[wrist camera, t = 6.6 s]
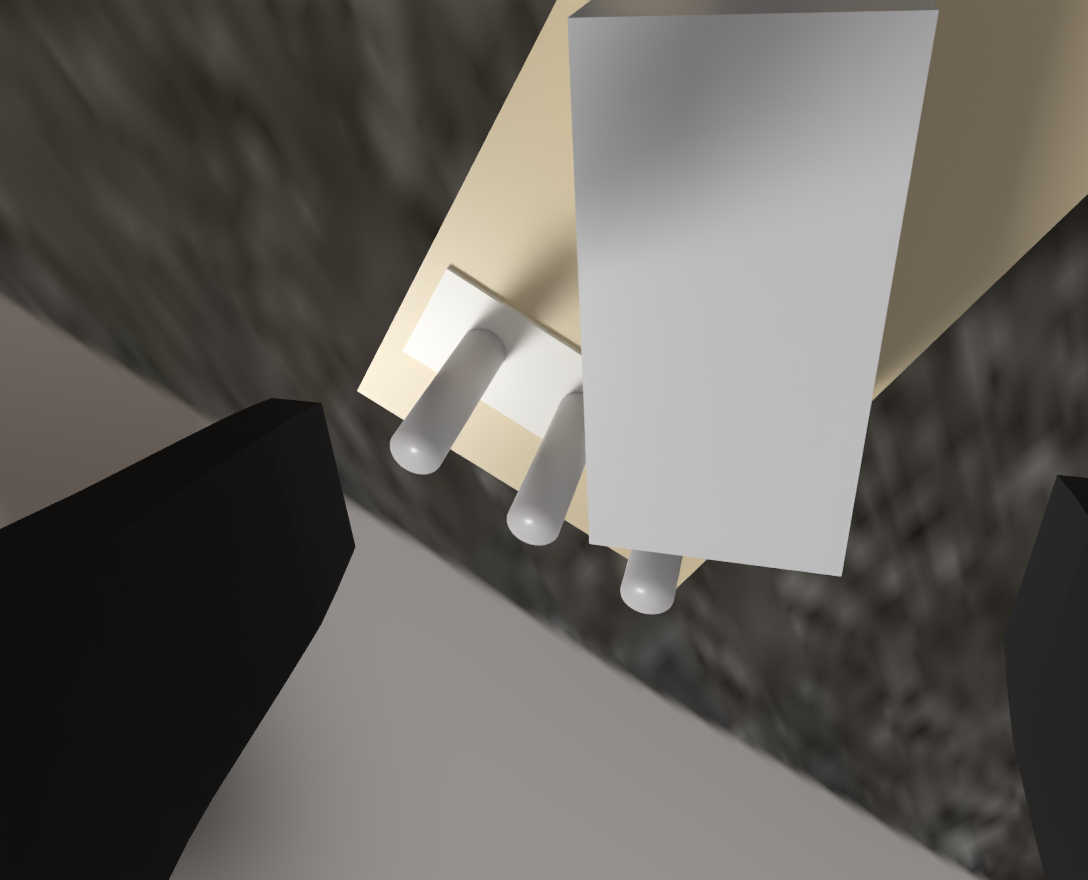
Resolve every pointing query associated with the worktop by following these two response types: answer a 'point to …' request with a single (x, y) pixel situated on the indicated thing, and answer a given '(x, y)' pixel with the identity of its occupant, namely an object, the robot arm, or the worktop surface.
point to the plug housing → (737, 262)
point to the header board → (552, 265)
